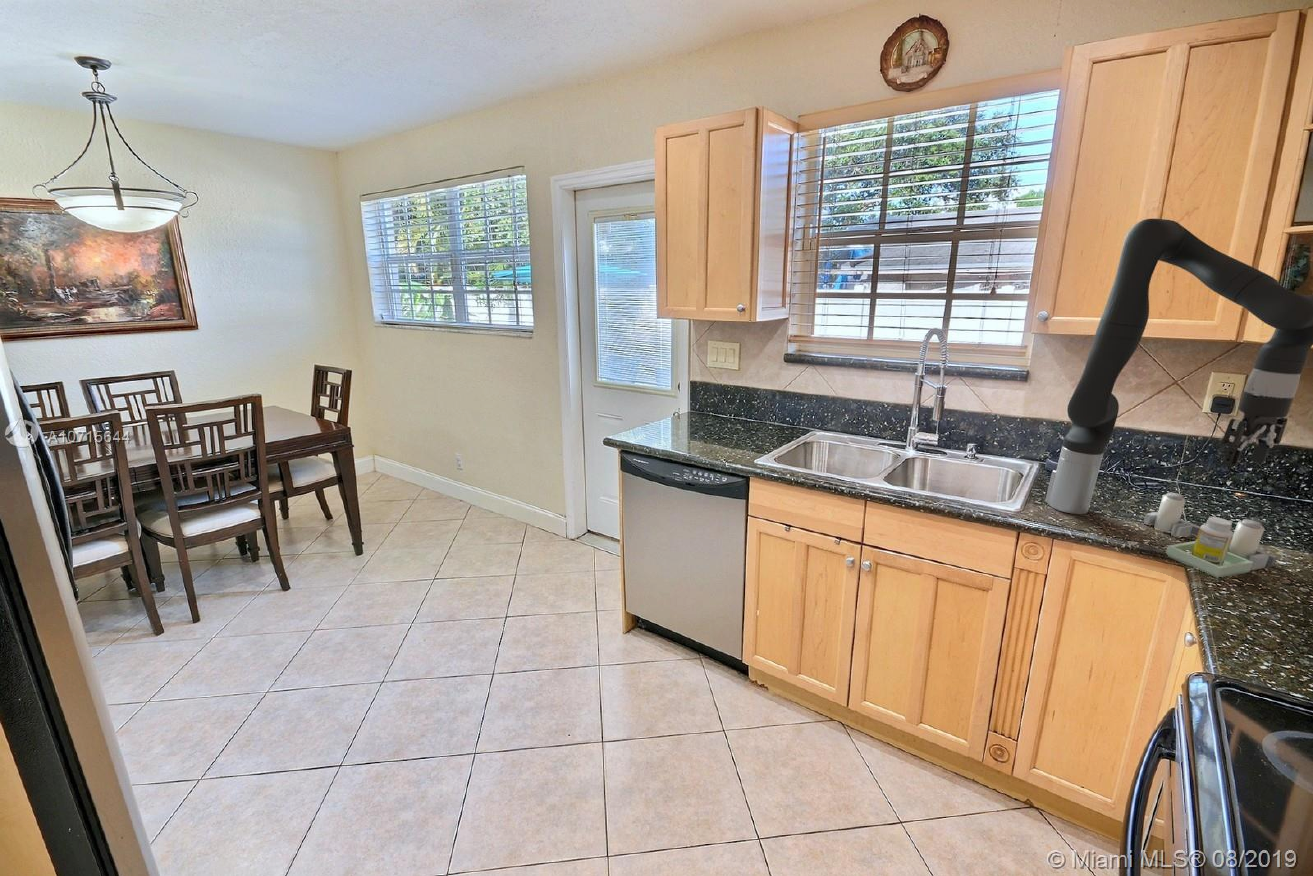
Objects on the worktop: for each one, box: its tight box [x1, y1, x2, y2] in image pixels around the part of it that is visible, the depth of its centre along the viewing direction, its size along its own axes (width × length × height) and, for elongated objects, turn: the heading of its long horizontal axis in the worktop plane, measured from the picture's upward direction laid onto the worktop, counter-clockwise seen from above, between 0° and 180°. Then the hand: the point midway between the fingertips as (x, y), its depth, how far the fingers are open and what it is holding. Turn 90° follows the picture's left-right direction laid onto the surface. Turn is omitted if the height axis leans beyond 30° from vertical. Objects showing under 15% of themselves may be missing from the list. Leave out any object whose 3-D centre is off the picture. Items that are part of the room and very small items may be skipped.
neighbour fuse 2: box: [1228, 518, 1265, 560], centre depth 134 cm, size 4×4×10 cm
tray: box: [1165, 540, 1253, 579], centre depth 134 cm, size 11×11×2 cm
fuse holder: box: [1143, 511, 1279, 571], centre depth 143 cm, size 24×7×3 cm, turn 17°
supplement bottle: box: [1192, 516, 1234, 566], centre depth 133 cm, size 6×6×10 cm
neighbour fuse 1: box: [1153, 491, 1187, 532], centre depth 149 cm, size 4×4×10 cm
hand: (1243, 464), depth 128 cm, fingers open, 8 cm apart
